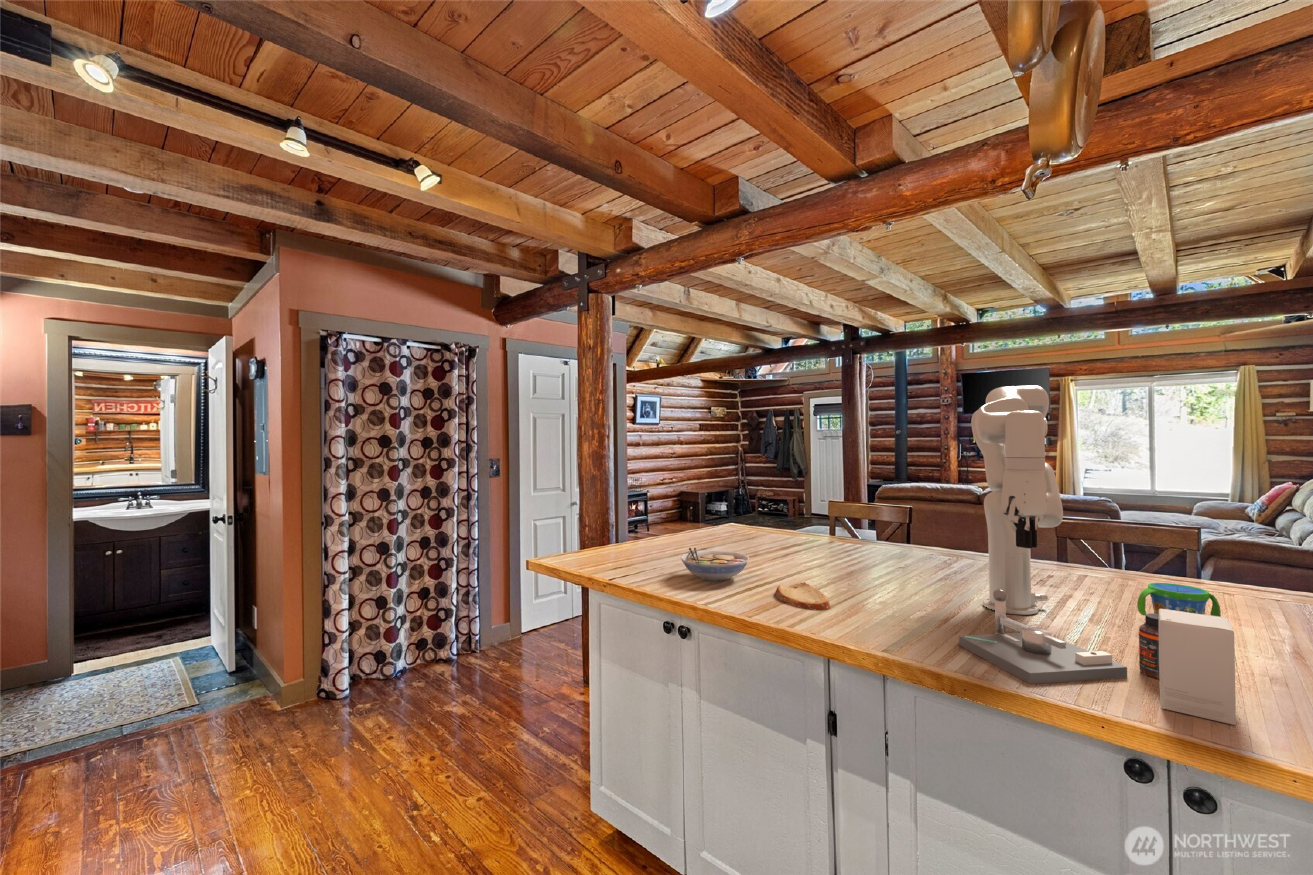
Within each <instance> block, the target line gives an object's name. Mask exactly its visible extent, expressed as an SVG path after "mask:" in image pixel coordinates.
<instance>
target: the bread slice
mask: <svg viewBox="0 0 1313 875" xmlns="http://www.w3.org/2000/svg"><path fill="white" fill-rule="evenodd" d="M774 594H775V596H776V598H778V600H780V601H781V602H784V603H786V602H787V603H786V604H788V605H790V606H795V607H796V608H800V607H801V608H802V609H805V610H811V609H816V610H815V611H828V610H831V609H832V607H831V604H830V601H829V599H828V597H827V596H826V595H825V594H824V593H823V592H821V591H820V590H818V589H817V588H815V587H814V586H812V585H810V584H809V583H806V581H805V582H800V583H799V582H798V583H796V584H792V585H788V586H786V587H785V586H782V585H780V584H779V585H778V586H777V587H776V590H775V592H774Z"/></svg>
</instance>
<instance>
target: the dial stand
mask: <svg viewBox="0 0 1313 875" xmlns="http://www.w3.org/2000/svg"><path fill="white" fill-rule="evenodd" d="M1051 636H1052V637H1054V638H1057V639H1059V640H1061V641H1064V642H1066V649H1059V648H1057V647H1055V646H1052V645H1051V651H1052V652H1051V653H1046V654H1043V653H1035V652H1031V651H1028V650H1025V649H1024V648H1022V633H1021V632H1011V633H1007V632H1006V634H999V633H992V634H989V633H988V634H976V635H975V634H973V635H958V642H959V643H958V644H959V646H960V647H962V648H963V649H966V650H967V651H969V652H971V653H973V654H974V655H977V656H978V657H981V658H982V659H984V660H986V661H988V662H990V664H991V663H992V665H995V666H997V667H999V668H1000V669H1002V670H1004V671H1005V672H1008V673H1010V674H1012V675H1013V676H1015V677H1016V678H1018V679H1021V680H1023V681H1024V682H1025V683H1028V684H1030V685H1037V684H1039V685H1040V684H1052V683H1066V682H1082V681H1083V682H1084V681H1097V680H1112V679H1113V680H1116V679H1128V667H1127V666H1125V665H1123V664H1121V663H1118V662H1116V661H1113V654H1111V653H1109V652H1106V651H1104V650H1099V651H1097V650H1096V651H1095V650H1094V651H1089V650H1087V649H1084V648H1082V647H1080V646H1077V645H1075V644H1073V643H1070V642H1068V641H1065V640H1063V639H1060V638H1058V637H1056V636H1053V635H1051Z"/></svg>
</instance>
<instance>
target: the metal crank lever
mask: <svg viewBox="0 0 1313 875" xmlns="http://www.w3.org/2000/svg"><path fill="white" fill-rule="evenodd" d="M1007 597H1008V596H1007V593H1006V592H1005V591H1004V590H1002V589H997V590H995V591H994V592H993V598H994V599H995V612H994V617H995V619H994V621H995V622H994V624H995V626H994V627H995V634H1007V628H1010V629H1012V630H1014V631H1016V632H1018V633H1022V648H1024V649H1025V650H1028V651H1031V652H1035V653H1043V654H1046V653H1051V652H1052V651H1051V645H1052V646H1055V647H1057V648H1059V649H1066V642H1067V641H1065V640H1063V641H1061V640H1062V639H1061V640H1059V639H1060V638H1058V637H1056V638H1054V637H1055V636H1053V635H1052V633H1051V631H1048V630H1047V629H1043V628H1039V627H1031V626H1029V625H1026V624H1025V623H1022V622H1019V621H1018V620H1014V619H1012V618H1010V617H1008V616H1007V613H1006V600H1007ZM1052 636H1053V637H1052ZM1057 638H1058V639H1057ZM1064 641H1065V642H1064Z"/></svg>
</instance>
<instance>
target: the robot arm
mask: <svg viewBox="0 0 1313 875" xmlns="http://www.w3.org/2000/svg"><path fill="white" fill-rule="evenodd" d="M1049 405H1050V399H1049V394H1048V392H1047V391H1046V389H1044V388H1043V387H1042V386H1040V385H1036V384H1035V385H1031V384H1030V385H1016V386H1015V385H1011V386H1000V387H996V388H994V389H992V390H990V391H989V392H988V394H987V395H986V397H985V404H983V405H981V406H980V407H979V408H978V409H977V410H976V411H974V413H972V416H971V422H970V423H971V424H970V425H971V432H972V435H973V439H974V441H975V443H976V445H977V447H978V449H979V450H980V452H981V454H982V456H983V462H984V470H985V477H986V482H987V486H988V488H989V490H991V492H989V493H987V494H986V496H985V497H984V499H983V508H984V515H985V521H986V528H987V543H988V545H987V546H988V588H989V589H988V594H989V595H988V596H989V597H988V598H984V599H983V600H982V605H983V606H984V607H985V608H986V607H987V609H989V610H991V609H992V610H991V611H994V610H995V599H994V598H993V592H994V591H995V590H997V589H1002V590H1004V591H1005V592H1006V593H1007V596H1008V597H1007V600H1006V614H1010V615H1019V616H1020V615H1021V616H1025V615H1027V616H1028V615H1036V614H1037V613H1039V606H1038V605H1036V603H1038V602H1047V601H1048V600H1049V597H1048V595H1047V594H1046V593H1037V594H1036V593H1035V592H1033V591H1032V573H1031V572H1032V570H1031V568H1032V567H1031V566H1032V565H1031V564H1032V563H1031V560H1032V559H1031V549H1032V548H1036V549H1037V548H1038V529H1039V528H1045V529H1046V528H1056V527H1058V526H1060V525H1061V523H1062V522H1063V518H1064V509H1063V504H1062V498H1061V495H1060V490H1059V486H1058V482H1057V479H1056V478H1057V477H1056V475H1055V471H1054V468H1053V467H1052V466H1051V464H1049V463H1048V462H1046V447H1045V446H1046V440H1045V439H1046V438H1045V437H1046V436H1047V434H1048V429H1049V428H1048V421H1047V418H1046V417H1047V414H1048V410H1049V407H1050V406H1049Z"/></svg>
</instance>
